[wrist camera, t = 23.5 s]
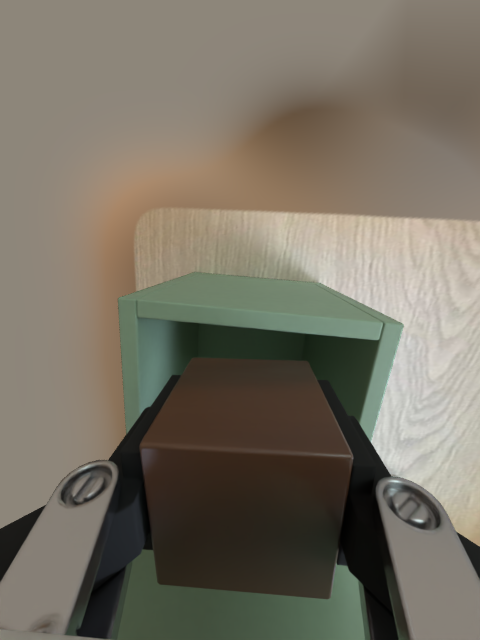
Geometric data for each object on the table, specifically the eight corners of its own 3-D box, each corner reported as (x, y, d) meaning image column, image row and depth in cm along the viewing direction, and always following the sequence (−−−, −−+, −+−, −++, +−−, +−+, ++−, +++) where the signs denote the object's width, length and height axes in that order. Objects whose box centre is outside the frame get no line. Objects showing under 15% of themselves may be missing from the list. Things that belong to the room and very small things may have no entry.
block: (191, 356, 9) (136, 445, 5) (308, 359, 9) (356, 456, 5) (196, 450, 11) (156, 586, 6) (300, 456, 10) (331, 601, 6)
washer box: (193, 271, 22) (116, 297, 10) (320, 283, 22) (405, 324, 9) (190, 391, 26) (130, 520, 13) (300, 403, 25) (341, 547, 13)
